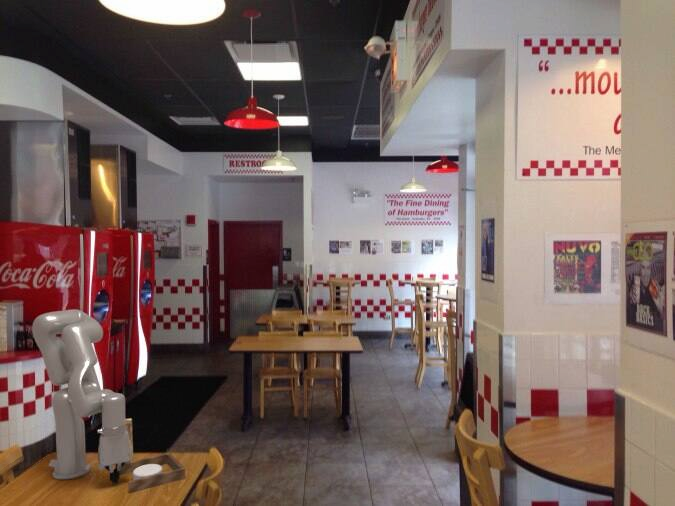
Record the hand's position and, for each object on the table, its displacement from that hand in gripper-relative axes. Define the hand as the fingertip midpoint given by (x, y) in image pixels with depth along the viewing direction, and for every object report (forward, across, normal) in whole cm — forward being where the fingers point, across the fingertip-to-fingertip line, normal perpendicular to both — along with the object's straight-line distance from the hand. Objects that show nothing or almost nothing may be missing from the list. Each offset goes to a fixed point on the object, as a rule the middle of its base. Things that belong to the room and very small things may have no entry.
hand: (114, 481), depth 194 cm
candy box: (+2, +7, +23) cm, 24 cm away
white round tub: (+1, +11, -2) cm, 11 cm away
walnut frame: (+1, +12, -1) cm, 12 cm away
